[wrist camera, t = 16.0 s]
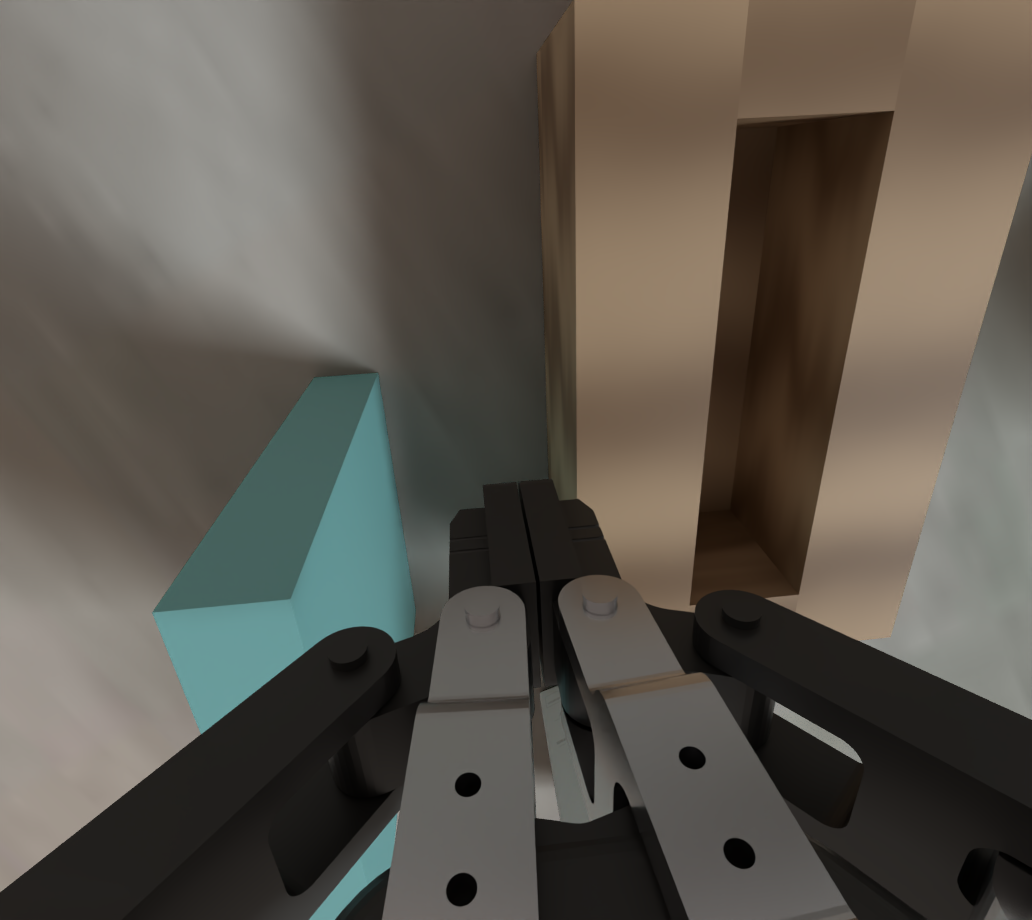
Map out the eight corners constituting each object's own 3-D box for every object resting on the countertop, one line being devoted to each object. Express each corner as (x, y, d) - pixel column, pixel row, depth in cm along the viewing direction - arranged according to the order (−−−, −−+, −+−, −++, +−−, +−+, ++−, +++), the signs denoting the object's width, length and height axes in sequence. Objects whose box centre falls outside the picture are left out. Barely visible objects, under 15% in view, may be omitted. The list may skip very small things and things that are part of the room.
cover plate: (314, 377, 24) (152, 612, 11) (378, 372, 24) (290, 599, 11) (363, 616, 29) (292, 959, 16) (415, 611, 29) (384, 947, 16)
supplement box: (533, 689, 32) (604, 1156, 17) (695, 622, 31) (925, 1054, 16) (599, 790, 36) (704, 1239, 21) (744, 734, 35) (964, 1162, 20)
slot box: (536, 53, 20) (574, -2, 13) (888, 38, 20) (1082, -22, 14) (550, 559, 28) (577, 670, 22) (796, 536, 29) (890, 637, 23)
